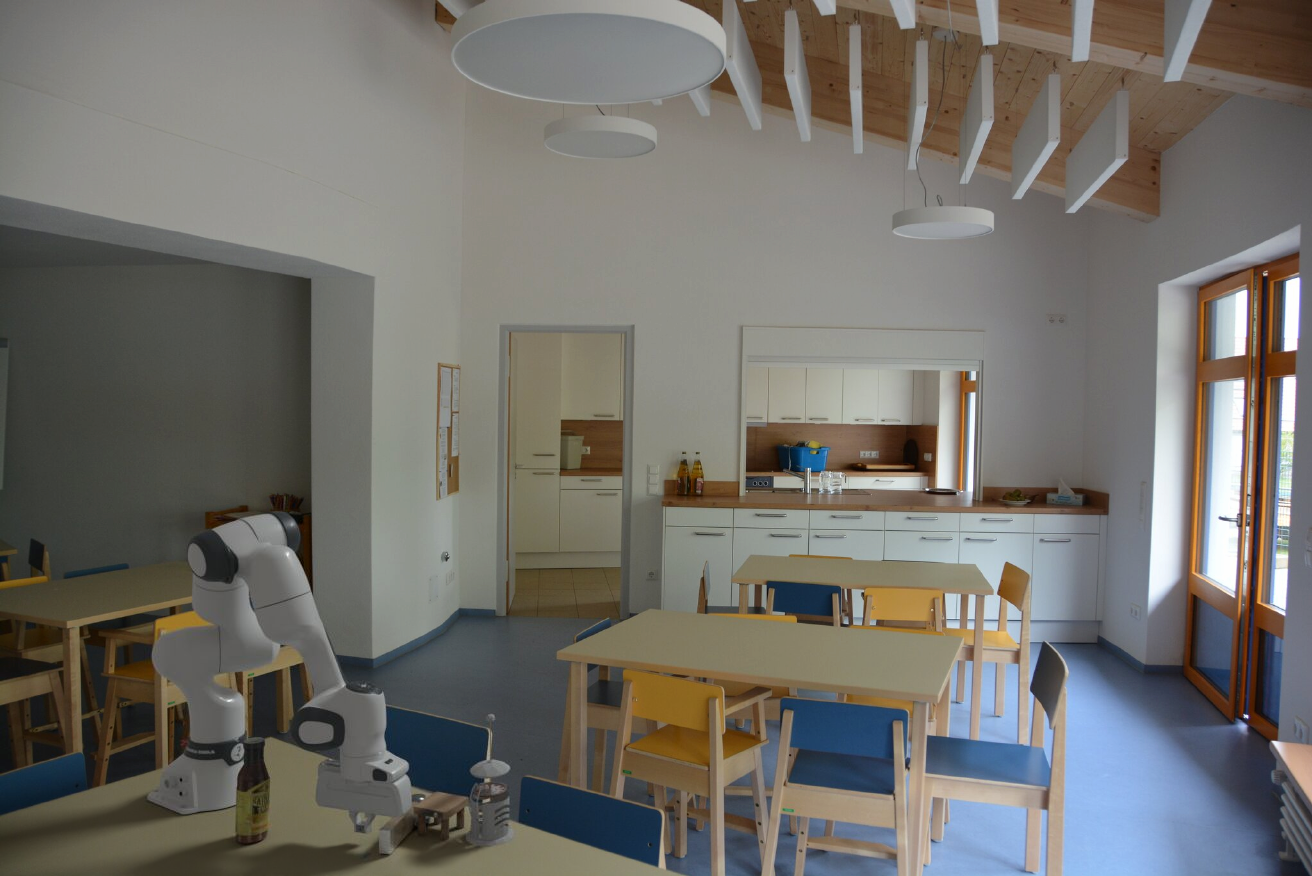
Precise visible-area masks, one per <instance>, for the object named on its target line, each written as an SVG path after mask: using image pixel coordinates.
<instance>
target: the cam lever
mask: <svg viewBox="0 0 1312 876" xmlns="http://www.w3.org/2000/svg"><path fill="white" fill-rule="evenodd" d="M426 798H427V797H426V795H425V794H423V793H412V805H411V809H410V810H409V811H408V812H407V813H406V814H405V815H404V816H402V817H401V818H396V817H390V819H389V820H388V821H386V823H385V824H384V825H383V826H381V827H380V828H379V829H378V853H379V854H386V855H390V854H392V853H393V852H394V850H395V849H396V848H397V847H398V846H399V845H400V844H401V842H402V841H404V839H405V838H406V837H407V836H408V835H409V834H410V833H411V832H412V830H413V829H414V828H418V814H414V806H415V805H416V804H418V803H419V802H421V801H423V800H424V799H426ZM431 820H432V817H429V816H426V825H427V824H429V823H430V822H431Z"/></svg>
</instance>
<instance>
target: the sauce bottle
mask: <svg viewBox="0 0 1312 876" xmlns="http://www.w3.org/2000/svg"><path fill="white" fill-rule="evenodd" d="M265 747H266V739H265V738H263V737H259V736H258V737H257V736H256V737H249V738H248V739H246V740H244V742H243V748H244V760H243V762H244V764H243V766H242V768H241V770H240V771H239V773H238V776H237V788H236V805H235V824H234V825H235V826H234V827H235V828H234V832H235V840H236V841H237V842H238V843H240V844H246V845H247V844H253V843H254V844H255V843H258V842H261V841H262V840H264V839H266V837H267V835H268V833H269V828H270V797H271V796H270V789H271V787H270V785H271V777H270V775H269V772H268V771H269V770H268V768H267V766H266V762H265V757H264V755H265Z"/></svg>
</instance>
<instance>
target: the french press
mask: <svg viewBox="0 0 1312 876" xmlns="http://www.w3.org/2000/svg"><path fill="white" fill-rule="evenodd" d="M495 720H496V717H495V715H494V714H492V713H490V714H488V715H486V717H485V721H486V722H489V759H485V760H482V761H478V762H477V763H476V764H474V765H473V766H472V767H471V768H470V770H469V772H470V775H472V776H473V777H475V778H477V779H487V780H488V779H489V781H485V782H481V783H478V782H475V783H474V785H473V787H472V788H471V792H470V796H469V804H468V810H469V815H470V818H471V819H470V830H469V831H468V832H467V833H466V835H465V840H466V841H467V842H468V843H469V844H471V845H474V846H476V847H484V848H485V847H487V848H488V847H494V846H493V845H497V846H500V845H503V844H506V843H508V842H509V841H511V840H512V839H513V837H514V835H515V834H514V833H515V832H514V830H513V828H510V825H509V824H510V819H509V818H510V813H509V812H510V806H509V805H510V793H509V792H508V790H509V787H508V785H507V784H506V783H504V782H500V781H492V779H494V778H495V779H496V778H498V777H502V776H504V775H507V774H508V772H509V771H510V770H511V766H510V765H509V764H507V763H506V762H505V761H501V760H497V759H492V722H494V721H495ZM488 799H489V801H487V800H488ZM475 800H476V801H475ZM479 800H481V801H482V800H484V801H485V800H486V801H487V802H479ZM480 807H481V808H480ZM480 813H481V814H480ZM498 817H499V818H498Z"/></svg>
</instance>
